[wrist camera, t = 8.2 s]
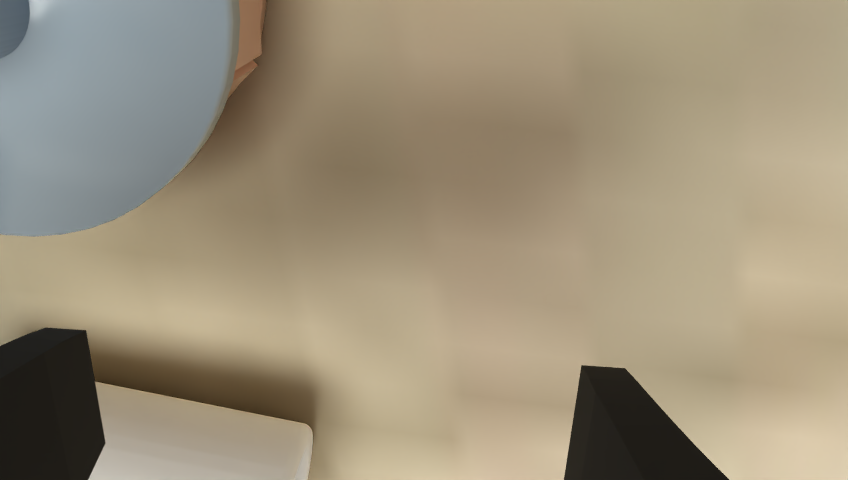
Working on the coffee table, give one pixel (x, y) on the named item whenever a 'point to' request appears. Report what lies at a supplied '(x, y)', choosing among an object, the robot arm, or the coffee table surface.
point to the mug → (195, 440)
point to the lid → (105, 103)
